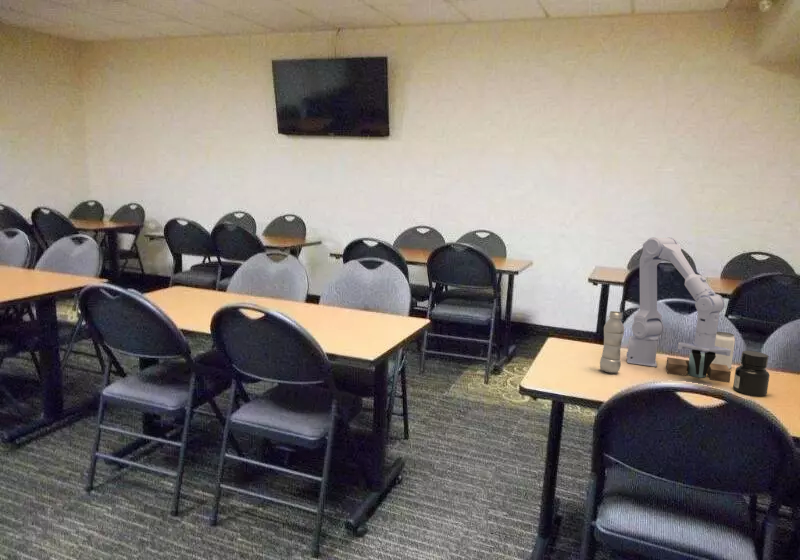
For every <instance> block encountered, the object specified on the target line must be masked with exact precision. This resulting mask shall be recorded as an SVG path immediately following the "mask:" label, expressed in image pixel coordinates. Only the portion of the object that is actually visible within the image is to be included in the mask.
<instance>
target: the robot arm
mask: <svg viewBox="0 0 800 560" xmlns="http://www.w3.org/2000/svg"><path fill="white" fill-rule="evenodd" d="M664 260H665V261H668V262H670V263H671V264H672V265H673V266H674V268H675V269H676V270H677V271H678V272H679V274H680V275H681V276H682V277H683V278H684V286H685V288H686V289H687V291H688V293H689V294H690V295H691V297H692V298H693V300H694V301H695V304H694V305H695V309H696V311H697V321H696V328H695V329H696V330H695V336H694V342H693V343H692V342H678V346H677V349H678V350H681V351H682V350H685V351H691V352H692V354H693V358H694V361H695V367H696V374H697V375H699V368H700V361H701V353H704V354H705V357H704V370H703V375H704V376H705V375H706V372H707V370H708V368H709V366H710V364H711V363H712V361H713V360H714V359H715V357H716V355H715V354H721V355H726V356H730V352H731V350H730V349H728V348H722V347H717V346H715V340H716V333H717V332H718V324H719V317H720V312H722V311H723V310H724V308H725V306H726V305H725V301H724V299H723V296H721V294H717V293H716V292H715V291H714V290H713V289H712V288H711V286H710V285H709V284H708V282H707V279H706V278H707V277H705V276H702V275H701V274H698V273H697V274H696V272H695V271H694V269H693V268H692V266H691V264H690V263H689V261H688V260H687V258H686V257H685V255H684V253H683V252H682V246H681V245H680V244H679V243H678V241H677V240H676V239H675V238H673V237H649V238H648V239H647V240H646V241H645V242H643V243H642V252H641V255H640V257H639V311H638V312H637V313H636V314H635V315H634V317H633V323H632V325H631V332H632V333H633V336H631V335H630V336H629V338H628V347H627V351H626V363H627V364H632V365H640V366H646V367H647V366H648V367H652V368H653V367H655V368H657V367H658V364H657V361H656V358H657V350H658V343H659V339H660V336H662V335H663V333H664V332H665V325H664V322H663V318H662V314H661V313H660V312H659V311H658V265H659V264H660V263H662V261H664ZM691 352H690V353H691ZM706 376H707V375H706Z"/></svg>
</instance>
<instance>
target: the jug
mask: <svg viewBox="0 0 800 560" xmlns="http://www.w3.org/2000/svg"><path fill="white" fill-rule="evenodd" d="M704 357H705V352H701V361H700V368H699V375H697V374H696V367H695V361H694V358H693V354H692V352H690V353H689V359H688V360H689V364H688V371H687V373H686V375H688V376H690V377H695V378H698V379H699V378H701V379H706V377H707V376H708V375H707V372H706V375H705V376H704V375H703V370H704Z"/></svg>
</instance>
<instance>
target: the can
mask: <svg viewBox="0 0 800 560" xmlns="http://www.w3.org/2000/svg"><path fill="white" fill-rule="evenodd" d="M735 342H736V339H735V334H734V333H733V334H732V333H731V332H727V331H717V333H716V340H715V346H717V347H722V348H728V349H730V350H731V352H730V356H726V355H721V354H715V355H716V357H715V359H714V360H713V361H712V363H713V364H720V365H727V367H728V368H729V370H731V368H732V364H733V358H734V350H735Z"/></svg>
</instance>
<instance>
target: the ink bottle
mask: <svg viewBox="0 0 800 560" xmlns="http://www.w3.org/2000/svg"><path fill="white" fill-rule="evenodd" d="M768 363H769V355H768V354H767V353H763V352H759V351H752V350H743V351H742V352H741V358H740V365H739V366H737V367H736V368H735V369H734V370H735V372H734V378H733V386H732V388H733V390H734V391H736V392H738V393H741V394H745V395H748V396H752V397H764V396H766V395H768V394H767V393H768V390H769V382H770V372H769V371H768V370H767V369H766V368H767V366H768Z"/></svg>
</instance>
